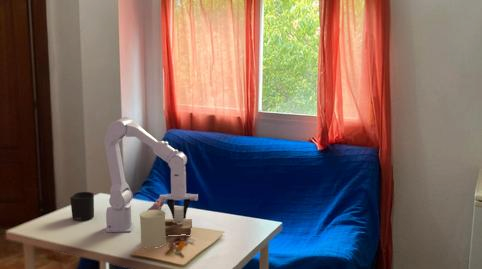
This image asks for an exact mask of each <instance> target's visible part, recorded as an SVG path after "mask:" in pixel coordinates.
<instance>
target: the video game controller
mask: <svg viewBox="0 0 482 269" xmlns="http://www.w3.org/2000/svg"><path fill="white" fill-rule="evenodd" d="M165 203H166V200H163V201H160V198H158V199H156V200H155V202H154V203H153V204H152V205H151V206H150V207H149V208H147V210H161V211H162V207H163V206H164V205H165Z"/></svg>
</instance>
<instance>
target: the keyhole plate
mask: <svg viewBox="0 0 482 269" xmlns="http://www.w3.org/2000/svg"><path fill="white" fill-rule="evenodd" d="M191 228H192V229H193V219H192V218H186V219H184V222H182V225H177V222H174V219H173V218H169V219H167V218H165V235H166V236H168V235H181V234H186V235H190V234H191V235H192V230H191ZM191 235H190V236H191Z"/></svg>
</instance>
